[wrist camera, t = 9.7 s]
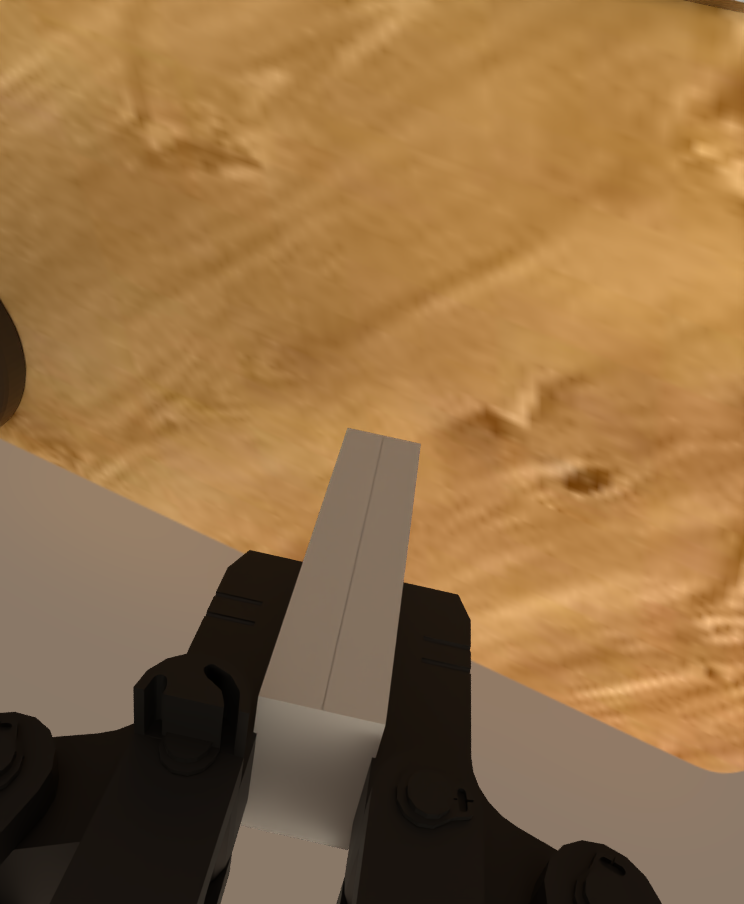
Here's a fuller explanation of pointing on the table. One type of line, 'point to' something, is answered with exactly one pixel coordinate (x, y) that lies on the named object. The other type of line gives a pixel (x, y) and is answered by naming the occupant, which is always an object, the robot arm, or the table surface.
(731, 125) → the table surface
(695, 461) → the table surface
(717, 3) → the panel
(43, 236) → the table surface
